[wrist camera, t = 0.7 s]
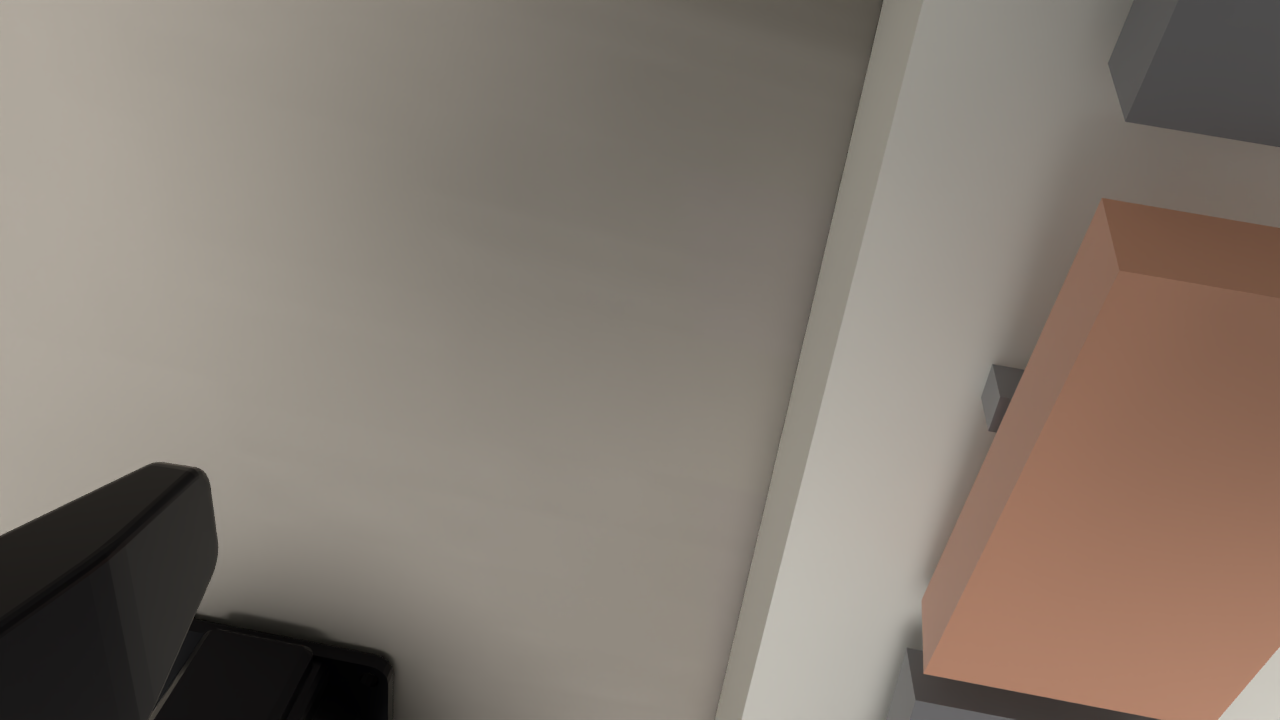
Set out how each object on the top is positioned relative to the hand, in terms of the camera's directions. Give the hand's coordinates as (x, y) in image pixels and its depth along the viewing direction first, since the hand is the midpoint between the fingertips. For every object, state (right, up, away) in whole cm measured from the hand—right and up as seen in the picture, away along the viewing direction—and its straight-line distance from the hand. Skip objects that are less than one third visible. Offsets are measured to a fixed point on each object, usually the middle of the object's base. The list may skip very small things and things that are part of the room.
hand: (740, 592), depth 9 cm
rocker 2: (+6, +1, +7) cm, 9 cm away
